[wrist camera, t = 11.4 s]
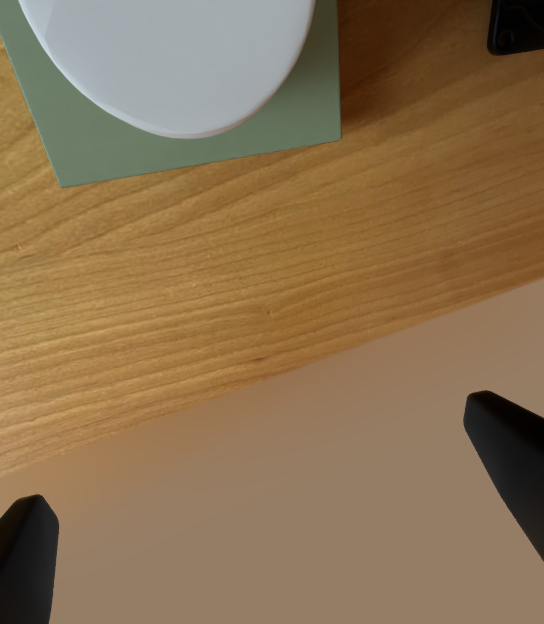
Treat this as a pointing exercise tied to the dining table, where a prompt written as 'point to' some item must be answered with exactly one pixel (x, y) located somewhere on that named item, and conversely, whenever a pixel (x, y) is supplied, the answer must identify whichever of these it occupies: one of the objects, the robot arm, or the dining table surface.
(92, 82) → the pill bottle
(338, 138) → the storage rack
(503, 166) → the dining table surface
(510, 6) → the robot arm
